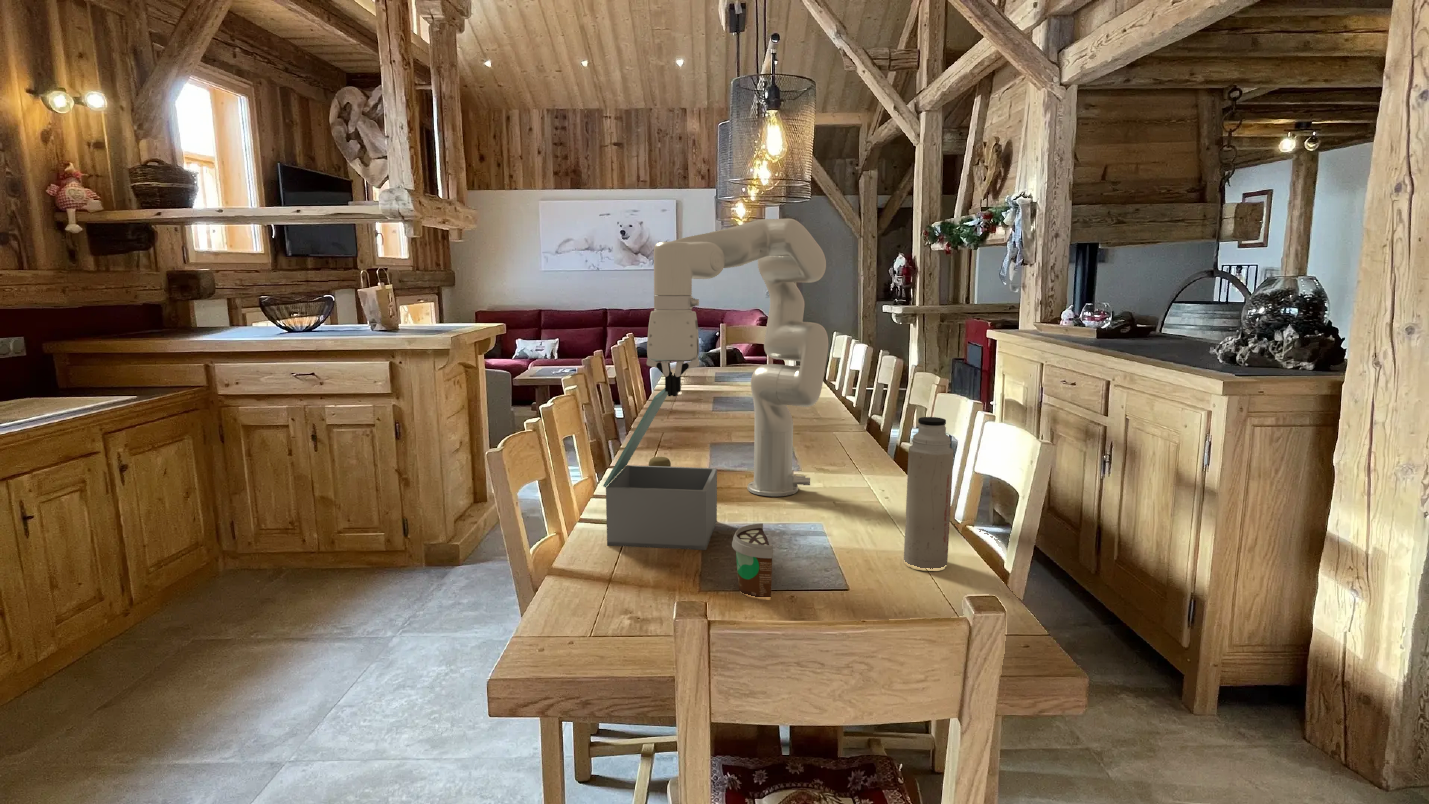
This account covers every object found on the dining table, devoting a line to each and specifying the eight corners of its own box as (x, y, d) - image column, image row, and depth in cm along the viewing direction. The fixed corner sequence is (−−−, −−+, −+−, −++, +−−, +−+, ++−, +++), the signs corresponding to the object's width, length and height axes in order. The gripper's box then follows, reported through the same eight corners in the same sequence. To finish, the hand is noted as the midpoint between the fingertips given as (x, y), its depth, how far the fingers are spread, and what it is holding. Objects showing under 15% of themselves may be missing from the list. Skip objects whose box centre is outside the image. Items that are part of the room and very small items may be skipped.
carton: (716, 521, 173) (716, 468, 171) (705, 550, 156) (706, 491, 154) (627, 517, 176) (626, 465, 174) (607, 545, 158) (605, 487, 156)
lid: (673, 384, 170) (671, 382, 170) (657, 398, 151) (654, 396, 151) (627, 464, 174) (624, 463, 174) (605, 487, 156) (602, 486, 156)
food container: (728, 576, 143) (728, 523, 141) (761, 575, 143) (762, 522, 141) (735, 605, 131) (736, 547, 129) (772, 603, 131) (773, 546, 129)
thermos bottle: (952, 561, 150) (960, 417, 145) (940, 575, 143) (948, 424, 139) (911, 553, 154) (917, 412, 149) (897, 566, 147) (904, 419, 143)
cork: (669, 507, 183) (668, 461, 181) (644, 505, 184) (643, 459, 183) (675, 499, 189) (675, 455, 187) (651, 498, 190) (650, 453, 188)
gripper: (712, 304, 160) (711, 393, 163) (639, 303, 162) (640, 391, 165) (707, 305, 153) (707, 399, 156) (632, 304, 155) (633, 397, 158)
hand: (673, 395), depth 160 cm, fingers closed
